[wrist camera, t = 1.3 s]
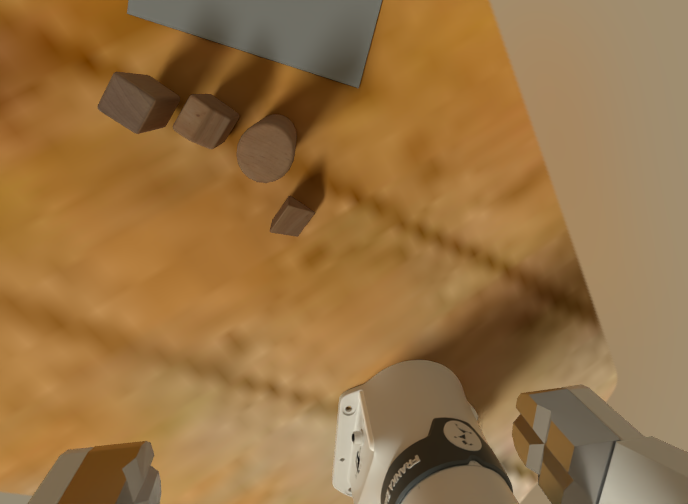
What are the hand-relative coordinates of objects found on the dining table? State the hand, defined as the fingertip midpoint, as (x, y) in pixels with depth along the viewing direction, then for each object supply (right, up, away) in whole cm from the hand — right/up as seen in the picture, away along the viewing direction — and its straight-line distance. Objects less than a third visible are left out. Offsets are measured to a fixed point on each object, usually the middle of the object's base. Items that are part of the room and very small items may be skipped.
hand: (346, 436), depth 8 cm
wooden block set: (-9, +14, +27) cm, 32 cm away
